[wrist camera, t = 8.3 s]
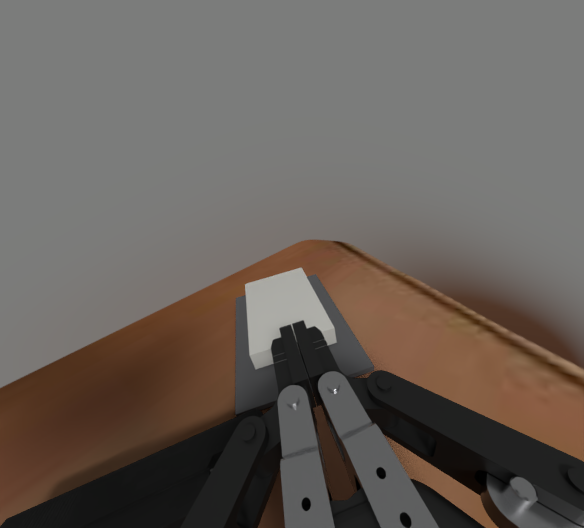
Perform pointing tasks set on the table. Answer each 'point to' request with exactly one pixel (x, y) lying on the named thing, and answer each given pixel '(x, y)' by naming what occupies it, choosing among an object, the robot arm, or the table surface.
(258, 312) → the tile
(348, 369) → the mat
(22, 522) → the handgun
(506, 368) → the table surface
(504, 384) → the table surface
